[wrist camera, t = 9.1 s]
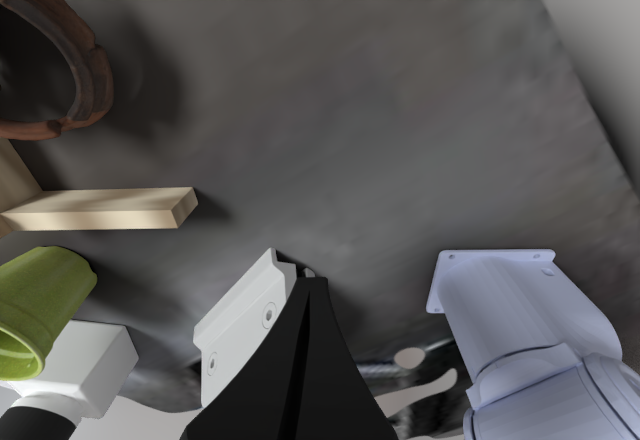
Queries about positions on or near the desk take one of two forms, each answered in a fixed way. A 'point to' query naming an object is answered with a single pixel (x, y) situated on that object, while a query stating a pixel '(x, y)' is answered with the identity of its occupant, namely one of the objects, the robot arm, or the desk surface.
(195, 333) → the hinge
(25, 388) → the medicine bottle
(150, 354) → the desk surface
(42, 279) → the plant pot
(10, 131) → the pottery mug
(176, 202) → the cradle
